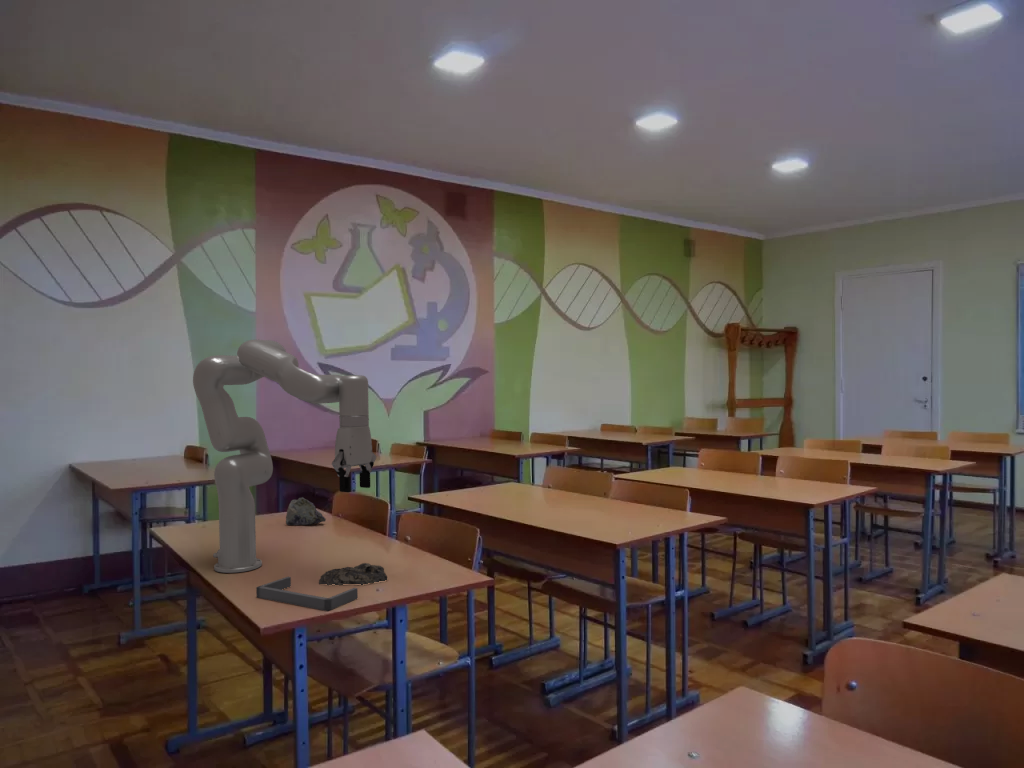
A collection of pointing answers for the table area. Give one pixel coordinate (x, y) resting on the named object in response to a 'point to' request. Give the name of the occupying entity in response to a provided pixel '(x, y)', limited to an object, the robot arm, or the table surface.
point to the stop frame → (303, 596)
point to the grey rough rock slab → (354, 575)
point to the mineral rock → (303, 513)
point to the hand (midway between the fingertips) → (355, 489)
